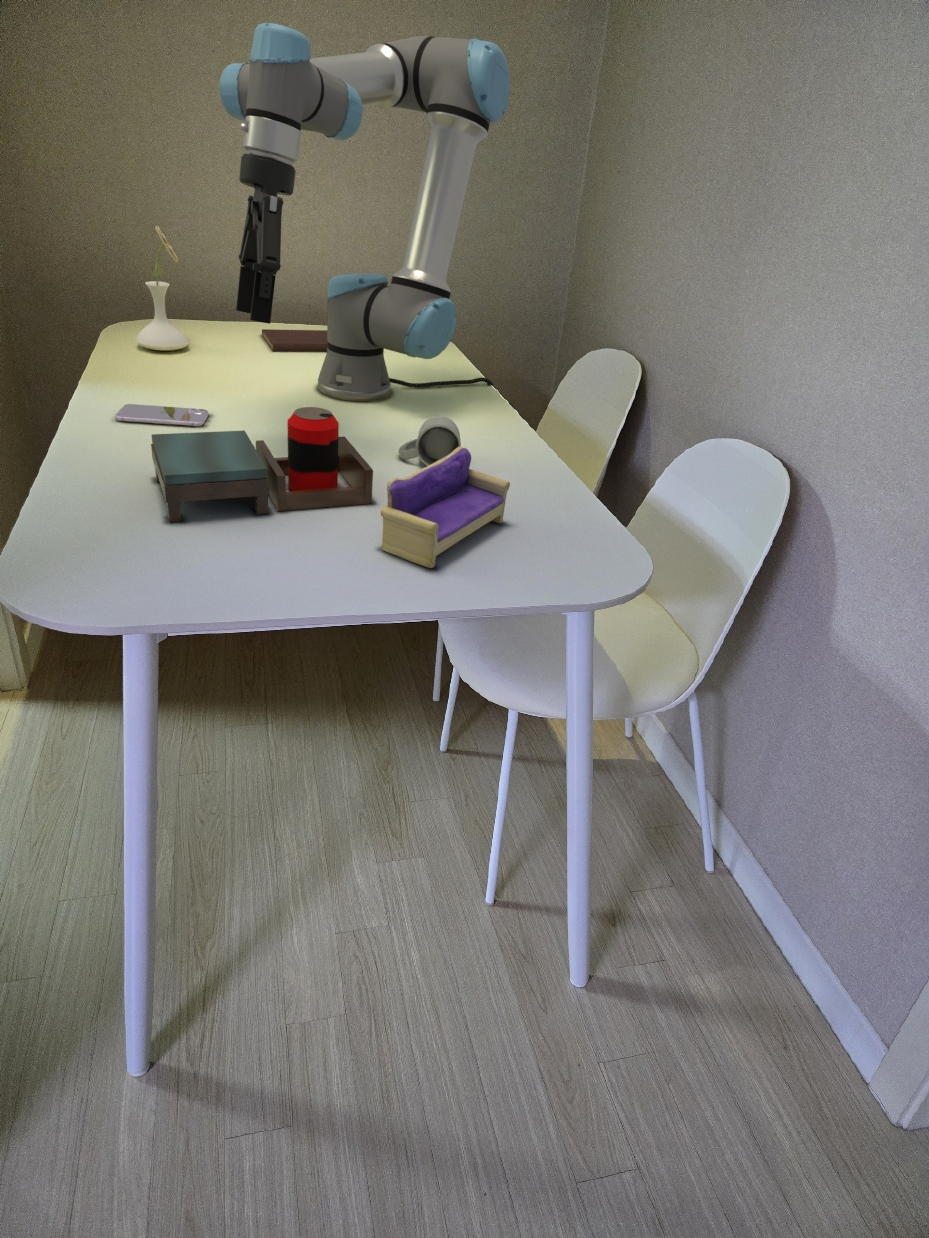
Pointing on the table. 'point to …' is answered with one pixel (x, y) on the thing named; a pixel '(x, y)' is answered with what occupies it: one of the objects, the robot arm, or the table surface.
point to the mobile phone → (162, 415)
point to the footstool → (208, 469)
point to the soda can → (312, 449)
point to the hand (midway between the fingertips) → (252, 317)
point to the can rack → (348, 466)
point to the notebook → (296, 340)
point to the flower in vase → (161, 313)
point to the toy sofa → (439, 507)
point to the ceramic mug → (433, 441)
